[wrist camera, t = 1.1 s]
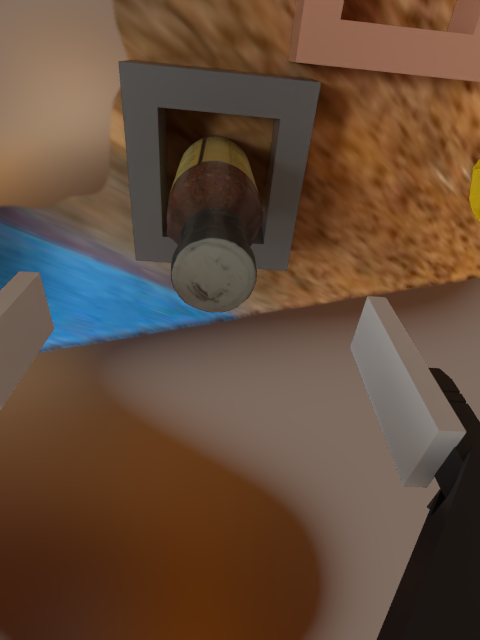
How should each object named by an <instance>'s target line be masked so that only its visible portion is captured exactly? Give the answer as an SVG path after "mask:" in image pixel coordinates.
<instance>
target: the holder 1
mask: <svg viewBox="0 0 480 640" xmlns="http://www.w3.org/2000/svg"><path fill="white" fill-rule="evenodd" d="M119 73H120V84H121V95H122V107H123V118H124V130H125V141H126V153H127V164H128V176H129V187H130V198H131V210H132V221H133V233H134V244H135V256H136V260H139V261H153V262H167V263H171V262H172V257H173V254H174V252H175V250H176V248H177V247H178V245H177V244H176V243H175V242H174V240H173V239H171V238H170V237H168V235H167V207H168V173H167V137H166V108H171V109H181V110H192V111H202V112H212V113H223V114H233V115H243V116H254V117H264V118H274V119H275V120H274V128H273V136H272V144H271V151H270V159H269V167H268V175H267V183H266V191H265V199H264V207H263V221H262V223H261V227H260V228H259V231H258V234H257V236H256V238H255V240H254V242H253V244H252V245H251V247H250V248H251V249H252V251H253V254H254V256H255V261H256V269H267V270H281V271H287V267H288V261H289V256H290V250H291V245H292V239H293V234H294V228H295V223H296V217H297V212H298V206H299V201H300V195H301V190H302V185H303V179H304V174H305V168H306V163H307V157H308V152H309V146H310V141H311V135H312V130H313V124H314V119H315V113H316V108H317V102H318V97H319V92H320V86H321V82H318V81H316V80H313V79H308V78H298V77H289V76H279V75H270V74H260V73H251V72H241V71H231V70H222V69H212V68H203V67H193V66H183V65H174V64H164V63H155V62H145V61H136V60H128V61H119Z"/></svg>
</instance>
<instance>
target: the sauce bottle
mask: <svg viewBox="0 0 480 640" xmlns="http://www.w3.org/2000/svg"><path fill="white" fill-rule="evenodd" d="M262 221H263V211H262V208H261V204H260V197H259V193H258V190H257V187H256V184H255V180H254V177H253V174H252V170H251V167H250V163H249V161H248V158H247V156H246V154H245V153H244V152H243V150H242V149H241V148H240V147H239V146H238V145H236V144H235V143H234V142H233V141H232V140H231V139H226V138H223V137H218V136H211V137H209V136H207V137H203V138H201V139H199V140H197V141H196V142H195V143H194V144H192V145H191V146H190V147H189V148H188V149H187V150H186V151H185V153H184V154H183V156H182V159H181V161H180V164H179V167H178V170H177V174H176V177H175V180H174V183H173V186H172V189H171V191H170V196H169V202H168V207H167V235H168V237H170V238H171V239H173V240H174V242H175V243H176V244H177V245H178V247H177V248H176V250H175V252H174V254H173V257H172V262H171V280H172V283H173V287H174V289H175V291H176V292H177V293H178V295H179V297H180V298H181V299H182V300H183V301H184V302H186V303H187V304H189V305H191V306H192V307H194V308H197V309H199V310H203V311H207V312H225V311H229V310H232V309H234V308H236V307H238V306H239V305H240V304H242V303H243V302H244V301H245V300H246V299H248V297H249V296H250V294H251V293H252V291H253V288H254V286H255V283H256V276H257V271H256V261H255V256H254V254H253V251H252V249H251V248H250V247H251V245H252V244H253V242H254V240H255V238H256V236H257V234H258V231H259V228H260V226H261V223H262Z"/></svg>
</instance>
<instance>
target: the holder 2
mask: <svg viewBox="0 0 480 640" xmlns="http://www.w3.org/2000/svg"><path fill="white" fill-rule="evenodd" d="M343 3H344V0H297V1H296V9H295V16H294V23H293V31H292V38H291V46H290V53H289V60H288V61H292V62H298V63H307V64H316V65H326V66H335V67H345V68H354V69H363V70H373V71H382V72H391V73H401V74H410V75H419V76H429V77H438V78H447V79H457V80H466V81H475V82H480V0H457V2H456V5H455V8H454V11H453V14H452V17H451V20H450V23H449V26H448V29H447V32H445V31H436V30H427V29H419V28H410V27H401V26H393V25H384V24H375V23H367V22H358V21H349V20H341V14H342V8H343Z"/></svg>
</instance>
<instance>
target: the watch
mask: <svg viewBox="0 0 480 640" xmlns="http://www.w3.org/2000/svg"><path fill="white" fill-rule="evenodd" d="M472 170H473V173H472V180H471V187H470V194H469V202H470V206H471V210H472V212H473V214H474V216H475V217H476V219H477V220H478V221H479V222H480V159H479V160H478V161H477V163H476V164H475V165H474V167H473V168H472Z"/></svg>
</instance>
